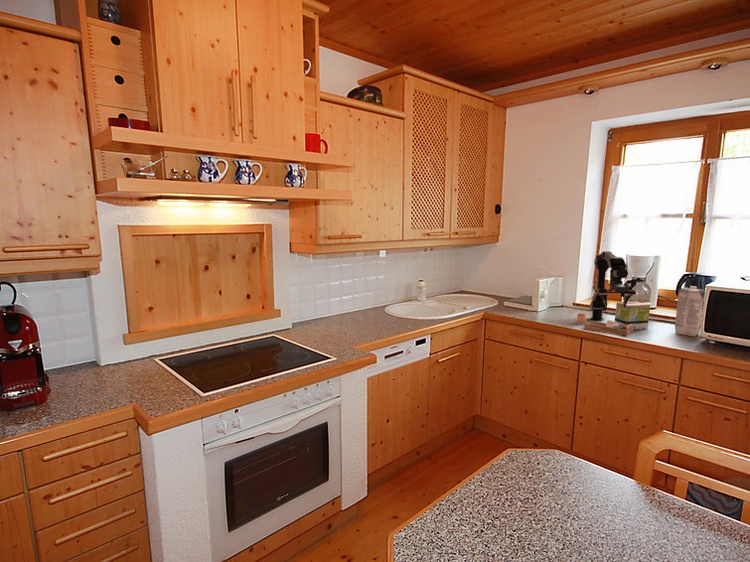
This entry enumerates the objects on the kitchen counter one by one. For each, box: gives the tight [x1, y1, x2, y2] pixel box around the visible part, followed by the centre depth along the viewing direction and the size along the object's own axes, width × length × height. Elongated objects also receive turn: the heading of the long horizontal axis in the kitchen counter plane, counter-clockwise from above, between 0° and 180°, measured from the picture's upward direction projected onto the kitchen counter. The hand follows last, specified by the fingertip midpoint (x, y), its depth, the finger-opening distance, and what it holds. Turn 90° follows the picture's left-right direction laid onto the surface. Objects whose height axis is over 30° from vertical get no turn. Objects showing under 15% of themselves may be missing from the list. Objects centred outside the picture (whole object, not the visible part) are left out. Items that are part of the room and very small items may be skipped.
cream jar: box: [605, 319, 617, 328], centre depth 239 cm, size 6×6×6 cm
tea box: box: [614, 301, 651, 330], centre depth 246 cm, size 15×10×15 cm, turn 105°
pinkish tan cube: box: [576, 312, 588, 325], centre depth 256 cm, size 6×6×6 cm
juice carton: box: [674, 285, 705, 338], centre depth 231 cm, size 9×10×27 cm
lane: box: [583, 320, 634, 337], centre depth 240 cm, size 10×22×5 cm, turn 44°
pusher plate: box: [616, 323, 623, 330], centre depth 236 cm, size 7×2×4 cm, turn 134°
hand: (615, 307), depth 234 cm, fingers open, 9 cm apart
